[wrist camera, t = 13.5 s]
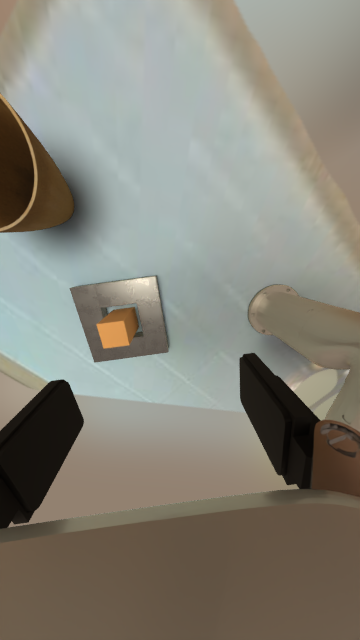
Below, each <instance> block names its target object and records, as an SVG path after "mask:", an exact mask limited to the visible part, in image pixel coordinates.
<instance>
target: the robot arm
mask: <svg viewBox="0 0 360 640" xmlns="http://www.w3.org/2000/svg"><path fill="white" fill-rule="evenodd" d="M263 292H264V293H263ZM248 317H249V321H250V324H251V325H252V327H253V328H254V329H255V330H257V331H258V332H260V333H262V334H265V335H275V336H276V337H277V338H279V339H280V340H282V341H283V342H284V343H286V344H287V345H289V346H290V347H291V348H293V349H294V350H296V351H297V352H298V353H300V354H301V355H303V356H304V357H306V358H307V359H308V360H310V361H311V362H313V363H315V364H317V365H319V366H322V367H325V368H330V369H350V371H349V374H348V376H347V378H346V379H345V383H344V385H343V387H342V388H341V390H340V392H339V394H338V395H337V397H336V399H335V401H334V402H333V404H332V406H331V407H330V409H329V411H328V413H327V415H326V417H325V420H322V421H320V420H319V419H318V417H317V416H315V415H314V413H313V412H312V411H311V410H310V409H309V408H308V407H307V406H306V405H305V404H304V403H303V402H302V400H300V398H299V397H298V396H297V395H296V394H295V393H294V392H293V391H292V390H291V389H290V388H289V387H288V386H287V385H286V384H285V382H284V381H283V380H282V379H281V378H280V377H278V376H275V375H274V374H273V373H272V371H271V370H270V369H269V368H268V367H267V366H266V365H265V364H264V363H263V362H262V361H261V359H260V358H259V357H258V356H257V355H256V354H255V353H250V354H243V357H241V358H240V399H241V403H242V405H243V407H244V409H245V411H246V413H247V415H248V417H249V419H250V421H251V423H252V425H253V427H254V429H255V431H256V433H257V435H258V437H259V439H260V441H261V443H262V445H263V447H264V449H265V451H266V452H267V455H268V457H269V459H270V461H271V463H272V465H273V467H274V469H275V471H276V472H277V474H278V475H282V476H283V478H284V480H285V482H286V484H287V485H291V484H297V486H298V487H299V489H294V490H277V491H269V492H260V493H251V494H243V495H234V496H226V497H220V498H211V499H204V500H197V501H190V502H182V503H175V504H168V505H160V506H153V507H147V508H139V509H132V510H125V511H118V512H112V513H104V514H98V515H90V516H84V517H77V518H70V519H63V520H56V521H50V522H43V523H36V524H30V525H23V526H16V527H10V528H7V527H8V526H9V524H10V523H11V521H12V522H13V523H14V524H20V523H27V522H29V520H30V518H31V517H32V515H33V513H34V511H35V510H36V509H37V508H39V506H40V505H41V503H42V501H43V499H44V497H45V496H46V494H47V492H48V490H49V488H50V486H51V484H52V482H53V481H54V479H55V477H56V475H57V473H58V471H59V470H60V468H61V466H62V464H63V462H64V460H65V458H66V456H67V455H68V453H69V451H70V449H71V447H72V445H73V444H74V442H75V440H76V438H77V436H78V434H79V432H80V430H81V428H82V427H83V423H84V419H83V417H82V414H81V412H80V409H79V407H78V405H77V402H76V400H75V397H74V395H73V392H72V390H71V387H70V385H69V383H68V382H66V381H65V380H55V381H51V382H49V383H48V384H47V385H46V386H45V387H44V388H43V389H42V390H41V391H40V392H39V393H38V394H37V395H36V396H35V397H34V398H33V399H32V400H31V401H30V402H29V403H28V404H27V405H26V406H25V407H24V408H23V409H22V410H21V411H20V412H19V413H18V414H17V415H16V416H15V417H14V418H13V419H12V420H11V421H10V422H9V423H8V424H7V425H6V426H5V427H4V428H3V429H2V430H1V431H0V640H360V313H359V312H355V311H352V310H348V309H344V308H340V307H336V306H333V305H329V304H325V303H321V302H318V301H314V300H310V299H307V298H303V297H299V295H298V293H297V292H296V291H295V290H294V289H292V288H291V287H288V286H285V285H271V286H268V287H266V288H264V289H262V290H261V291H260V292H258V293H257V294H256V296H255V297H254V298H253V300H252V301H251V303H250V306H249V310H248Z"/></svg>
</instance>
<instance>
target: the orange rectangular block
mask: <svg viewBox="0 0 360 640" xmlns="http://www.w3.org/2000/svg"><path fill="white" fill-rule="evenodd" d="M96 325H97V328H98V332H99V335H100V338H101V342H102V345H103V348H104V349H105V348H112V347H120V346H127V345H130V343H131V341H132V339H133V337H134V335H135V333H136V331H137V329H138V327H139V325H138V320H137V316H136V311H135V307H131V308H124V309H116V310H113V311H112V312H110V313H109V314H108V315H107V316H106V317H104V318H103V319H102V320H101V321H100V322H99V323H97V324H96Z"/></svg>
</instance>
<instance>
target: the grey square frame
mask: <svg viewBox="0 0 360 640" xmlns="http://www.w3.org/2000/svg"><path fill="white" fill-rule="evenodd" d="M70 291H71V294H72V297H73V300H74V303H75V306H76V309H77V312H78V315H79V318H80V320H81V323H82V326H83V329H84V332H85V335H86V338H87V341H88V344H89V347H90V350H91V353H92V356H93V359H94V362H101V361H109V360H116V359H123V358H130V357H137V356H145V355H152V354H159V353H166V352H168V348H169V346H168V340H167V334H166V328H165V322H164V316H163V310H162V304H161V298H160V292H159V286H158V280H157V275H156V276H148V277H141V278H134V279H126V280H119V281H112V282H104V283H97V284H90V285H82V286H76V287H72V288H70ZM133 303H137V307H138V311H139V316H140V321H141V325H142V330H143V332H138V333H135V335H134V337H133V339H132V341H131V343H130V345H127V346H120V347H112V348H105V349H104V348H103V345H102V342H101V338H100V335H99V332H98V328H97V325H96V324H97V323H99V322H100V321H101V320H102V319H103V318H104V317H106V316H107V315H108V313H107V309H106V307H111V306H118V305H125V304H133Z"/></svg>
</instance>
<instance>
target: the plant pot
mask: <svg viewBox="0 0 360 640" xmlns="http://www.w3.org/2000/svg"><path fill="white" fill-rule="evenodd" d="M73 212H74V200H73V197H72V194H71V192H70V189H69V187H68V185H67V183H66V181H65V179H64V178H63V176H62V174H61V172H60V171H59V169H58V167H57V166H56V164H55V163H54V161H53V160H52V158H51V157H50V155H49V154H48V152H47V151H46V150H45V148H44V147H43V145H42V144H41V143H40V141H39V140H38V139H37V138H36V136H35V135H34V134H33V132H32V131H31V130H30V129H29V127H28V126H27V125H26V124H25V122H24V121H23V120H22V119H21V117H20V116H19V115H18V114H17V112H16V111H15V110H14V109H13V108H12V106H11V105H10V104H9V103H8V102H7V100H6V99H5V98H4V97H3V96H2V95H1V94H0V232H26V231H35V230H42V229H46V228H51V227H54V226H57V225H59V224H62V223H64V222H66V221H67V220H69V219H70V218H71V216H72V214H73Z"/></svg>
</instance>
